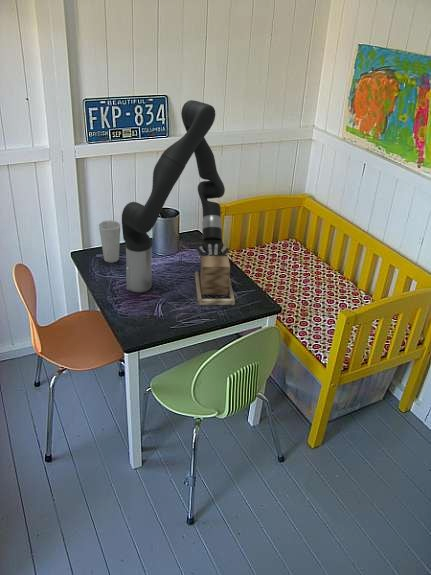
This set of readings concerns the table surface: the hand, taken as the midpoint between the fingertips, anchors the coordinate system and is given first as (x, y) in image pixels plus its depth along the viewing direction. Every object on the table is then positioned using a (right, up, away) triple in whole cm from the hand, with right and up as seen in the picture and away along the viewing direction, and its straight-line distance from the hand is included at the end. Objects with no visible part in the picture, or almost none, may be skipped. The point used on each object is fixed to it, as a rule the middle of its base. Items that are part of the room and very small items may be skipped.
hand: (213, 272), depth 208 cm
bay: (0, -8, -1) cm, 8 cm away
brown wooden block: (0, -6, -1) cm, 7 cm away
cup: (-42, +6, +16) cm, 45 cm away
